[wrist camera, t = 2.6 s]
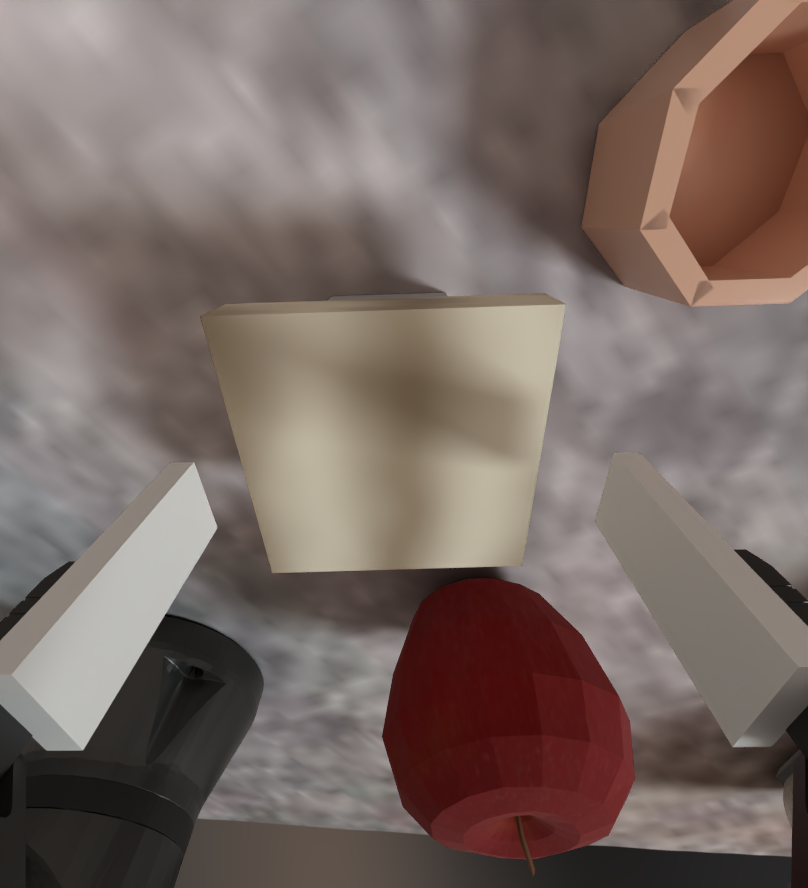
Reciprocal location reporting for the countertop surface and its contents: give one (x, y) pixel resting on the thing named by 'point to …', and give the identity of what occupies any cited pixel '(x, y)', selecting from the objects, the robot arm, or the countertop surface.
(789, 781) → the planter
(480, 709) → the apple
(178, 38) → the countertop surface
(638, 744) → the countertop surface
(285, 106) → the countertop surface
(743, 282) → the bowl
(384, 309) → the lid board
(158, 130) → the countertop surface
